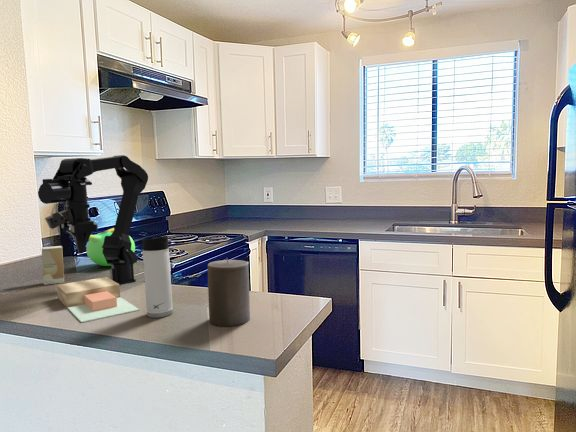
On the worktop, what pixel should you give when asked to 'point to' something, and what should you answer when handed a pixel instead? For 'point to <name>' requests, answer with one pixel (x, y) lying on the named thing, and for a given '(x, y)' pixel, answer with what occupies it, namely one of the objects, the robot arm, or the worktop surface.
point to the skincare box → (52, 265)
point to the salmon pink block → (100, 301)
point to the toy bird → (100, 247)
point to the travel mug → (157, 277)
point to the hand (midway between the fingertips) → (81, 253)
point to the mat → (101, 311)
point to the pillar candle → (228, 292)
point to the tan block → (85, 290)
